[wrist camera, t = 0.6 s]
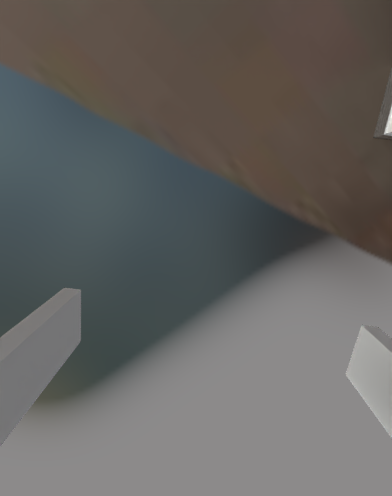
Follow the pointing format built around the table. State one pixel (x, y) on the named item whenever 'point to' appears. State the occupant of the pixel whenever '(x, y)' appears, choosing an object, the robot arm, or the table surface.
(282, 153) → the table surface
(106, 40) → the table surface
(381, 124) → the white base plate
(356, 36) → the table surface
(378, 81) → the table surface
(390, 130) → the block
